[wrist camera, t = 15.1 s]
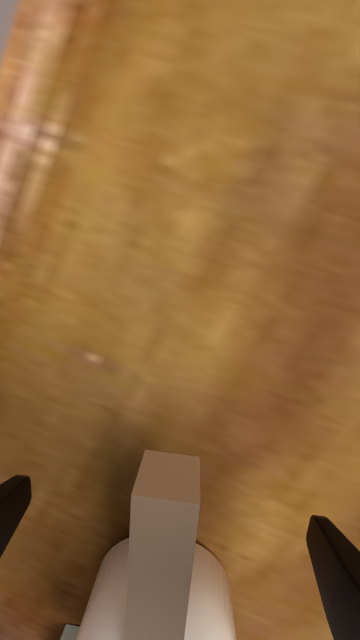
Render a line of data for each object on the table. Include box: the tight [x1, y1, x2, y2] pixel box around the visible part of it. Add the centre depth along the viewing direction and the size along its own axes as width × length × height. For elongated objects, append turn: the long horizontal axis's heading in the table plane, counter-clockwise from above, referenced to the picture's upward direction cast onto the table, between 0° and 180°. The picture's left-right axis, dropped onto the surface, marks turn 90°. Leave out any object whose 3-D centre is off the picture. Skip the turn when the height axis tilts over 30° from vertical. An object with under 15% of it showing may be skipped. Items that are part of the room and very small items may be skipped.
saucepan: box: [76, 450, 236, 640], centre depth 11 cm, size 16×8×6 cm, turn 175°
